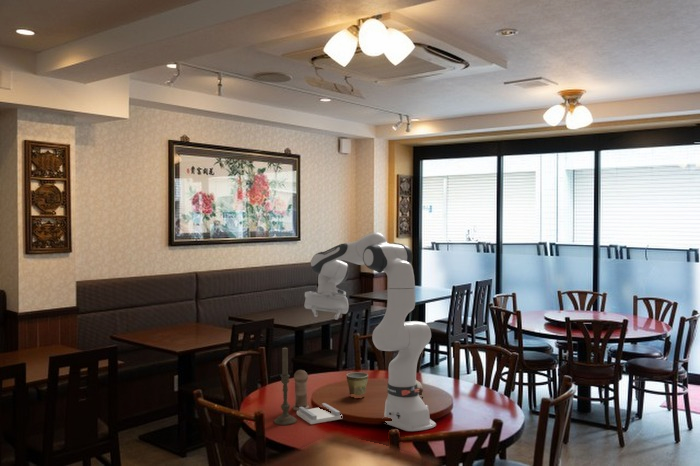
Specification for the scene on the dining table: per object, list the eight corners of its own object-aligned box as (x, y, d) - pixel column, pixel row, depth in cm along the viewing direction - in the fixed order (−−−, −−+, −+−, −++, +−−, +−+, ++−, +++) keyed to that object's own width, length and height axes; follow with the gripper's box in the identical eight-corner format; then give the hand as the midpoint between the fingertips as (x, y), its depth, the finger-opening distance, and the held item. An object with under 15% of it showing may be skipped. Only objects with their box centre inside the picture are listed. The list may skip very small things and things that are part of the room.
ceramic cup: (368, 399, 271) (368, 377, 271) (346, 399, 271) (346, 377, 271) (368, 391, 284) (368, 370, 284) (346, 391, 284) (346, 370, 284)
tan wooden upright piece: (311, 409, 257) (311, 370, 257) (296, 411, 254) (296, 372, 254) (305, 405, 263) (304, 367, 263) (290, 407, 260) (290, 369, 260)
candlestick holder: (297, 417, 246) (297, 344, 246) (296, 425, 237) (295, 348, 236) (275, 418, 246) (274, 344, 245) (272, 425, 236) (272, 348, 236)
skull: (393, 392, 279) (406, 374, 282) (408, 405, 282) (421, 387, 285) (405, 398, 268) (419, 379, 271) (421, 411, 271) (434, 393, 274)
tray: (342, 418, 244) (342, 411, 244) (310, 424, 238) (310, 416, 238) (327, 409, 257) (327, 402, 257) (296, 414, 250) (296, 407, 250)
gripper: (305, 286, 278) (304, 309, 268) (349, 292, 281) (349, 315, 271) (303, 294, 282) (302, 318, 272) (346, 300, 285) (346, 324, 275)
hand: (326, 317), depth 272 cm, fingers open, 8 cm apart
